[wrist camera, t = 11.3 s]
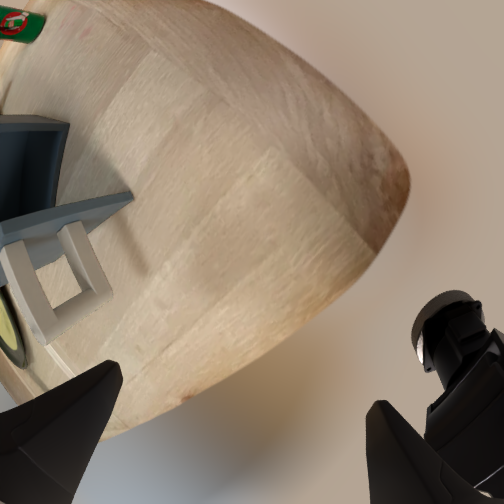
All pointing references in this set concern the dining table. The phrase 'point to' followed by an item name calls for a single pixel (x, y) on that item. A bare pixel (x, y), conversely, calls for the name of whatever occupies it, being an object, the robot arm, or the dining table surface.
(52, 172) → the cabinet
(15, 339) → the plate
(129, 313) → the dining table surface
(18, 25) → the soda can
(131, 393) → the dining table surface
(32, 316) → the cabinet door
